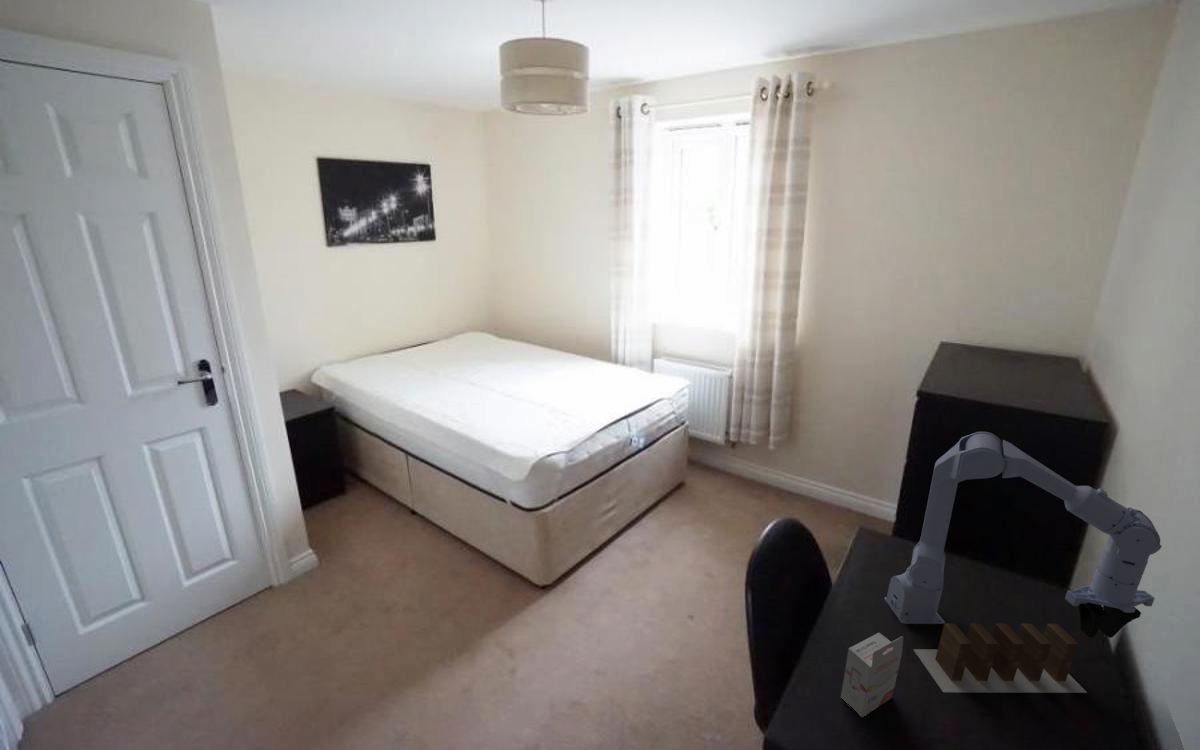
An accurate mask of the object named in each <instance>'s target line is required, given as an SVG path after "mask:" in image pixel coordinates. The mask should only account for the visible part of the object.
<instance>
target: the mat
mask: <svg viewBox="0 0 1200 750" xmlns="http://www.w3.org/2000/svg"><path fill="white" fill-rule="evenodd" d="M913 651H914V653H915V655H916V656H917V657H918V659H919V660H920V661H921V663H922V664H923V665H924V667H925V669H926V670H927V671H928V673H929V674H930V675H931V676H930V677H932V679H934V681H935V683H936V685H938V687H939V688H940V690H941V692H942V693H975V694H976V693H993V694H994V693H998V694H999V693H1008V694H1009V693H1013V694H1014V693H1019V694H1020V693H1023V694H1024V693H1025V694H1026V693H1030V694H1031V693H1035V694H1036V693H1037V694H1039V693H1042V694H1043V693H1044V694H1045V693H1047V694H1048V693H1049V694H1051V693H1052V694H1053V693H1054V694H1055V693H1056V694H1058V693H1059V694H1061V693H1062V694H1063V693H1064V694H1066V693H1067V694H1069V693H1070V694H1071V693H1072V694H1074V693H1075V694H1076V693H1078V694H1081V693H1082V694H1087V693H1088V692H1087V690H1085V689H1084V688H1083V687H1082V686H1081V684H1079V683H1078V681H1076V680H1075V679H1074V678H1073V677H1072V675H1071V674H1069V673H1068V676H1067V678H1066V681H1055V680H1054V679H1053V678H1052V677H1051V676H1050V675H1049V674H1048V673H1047V672H1046V671H1045V670H1044V669H1043V672H1042V675H1041V678H1040V681H1029V680H1028V679H1027V678H1026V677H1025V676H1024V675H1023V674H1022V673H1021V671H1020V670H1019V669H1018V668H1017V671H1016V674H1015V677H1014V681H1003V680H1002V679H1001V678H1000V677H999V676H998V674H997V673H996V672H995V671H994V670H993V668H992V667H991V670H990V674H989V677H988V680H987V681H977V680H976V679H975V678H974V676H973V675H972V674H971V673H970V671H969V670H968V669H967V668H966V666H965V670H964V673H963V677H962V680H961V681H951V680H950V679H949V677H948V676H947V675H946V673H945V672H944V671H943V669H942V668H941V667H940V665H939V664H938V662H937V661H936V660H935V659H936V655H937V651H938V648H936V649H934V648H933V649H926V648H925V649H921V648H917V649H914V648H913Z"/></svg>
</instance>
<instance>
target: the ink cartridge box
mask: <svg viewBox="0 0 1200 750" xmlns="http://www.w3.org/2000/svg"><path fill="white" fill-rule="evenodd" d="M903 645H904V636H900V637H898V638H896V639H894V640H893V641H890V640H889V638H887V637H886V636H884V635H882V633H880V632H877V633H875V634H874V635H872V636H869V637H868V638H866V639H864V640H863V641H860V642H857V644H855V645H852V646H850V647H849V648H848V652H847V657H846V663H845V664H846V665H845V669H844V676H843V682H842V688H841V694H840V699H841V698H842V699H843V700H844V701H845V702H846V703H847V704H846V703H845V702H844V701H843V700H842V699H841V700H842V701H843V702H844V703H845V704H846V705H848V704H849V705H848V707H850V706H851V707H852V708H853V709H854V710H855V711H856V712H857V713H858V716H859V717H861V718H862V717H863V718H864V716H865V717H866V716H868V715H869V714H870V713H871V712H872V711H875V710H876V709H877V708H879V707H880V706H882V705H883V704H885V703H887V702H889V700H891V699H893V695H894V691H895V687H896V681H897V677H898V673H899V668H900V664H901V660H902V655H903V647H904V646H903ZM851 707H850V708H851ZM852 708H851V709H852ZM853 709H852V710H853ZM854 710H853V711H854ZM855 711H854V712H855ZM856 712H855V713H856ZM857 713H856V714H857ZM867 714H868V715H867Z"/></svg>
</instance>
